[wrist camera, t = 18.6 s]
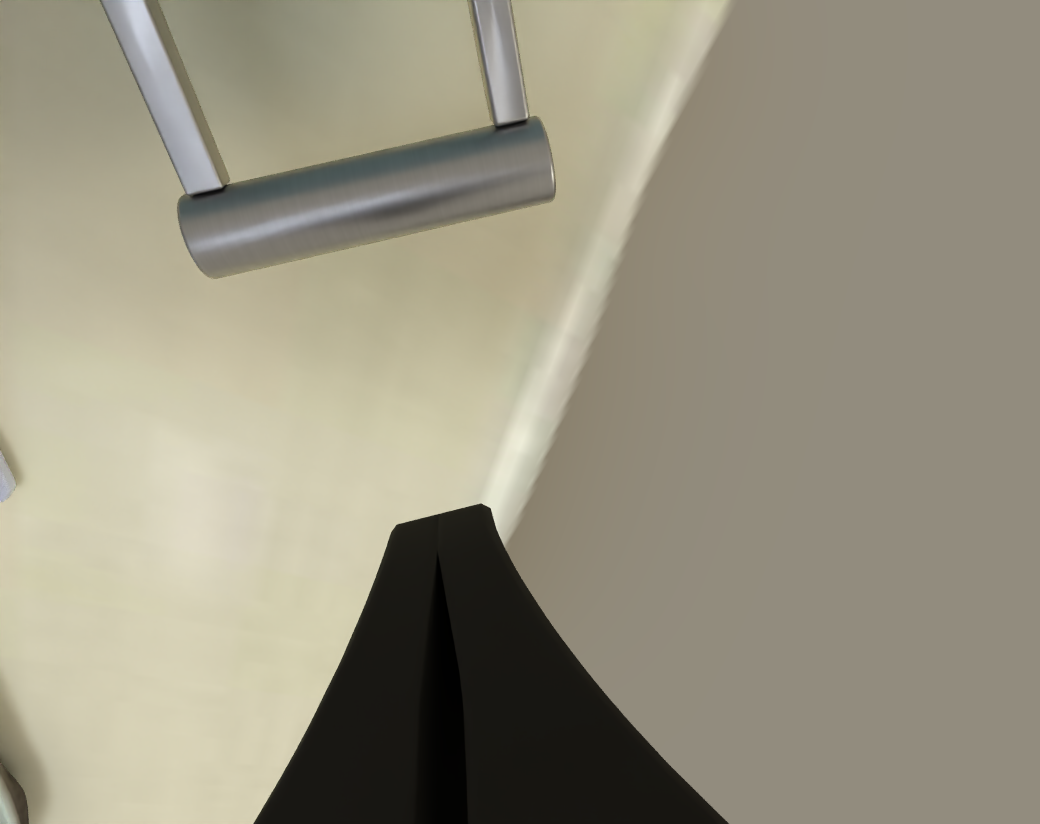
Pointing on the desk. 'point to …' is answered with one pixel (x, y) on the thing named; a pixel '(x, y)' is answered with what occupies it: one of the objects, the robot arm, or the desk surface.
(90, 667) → the desk surface
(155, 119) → the drawer
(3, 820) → the avocado toast plate
